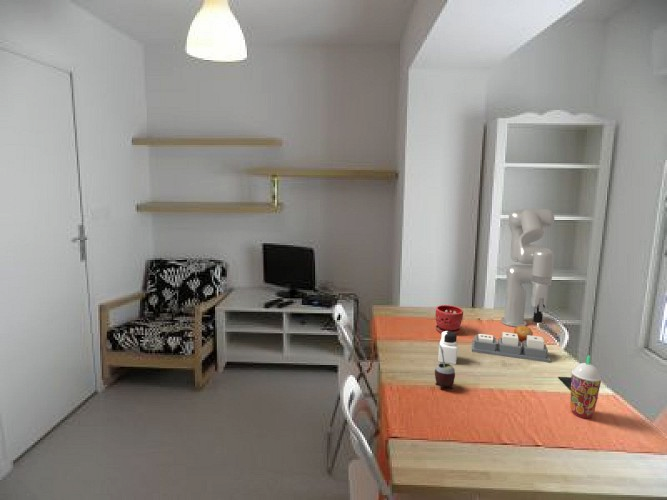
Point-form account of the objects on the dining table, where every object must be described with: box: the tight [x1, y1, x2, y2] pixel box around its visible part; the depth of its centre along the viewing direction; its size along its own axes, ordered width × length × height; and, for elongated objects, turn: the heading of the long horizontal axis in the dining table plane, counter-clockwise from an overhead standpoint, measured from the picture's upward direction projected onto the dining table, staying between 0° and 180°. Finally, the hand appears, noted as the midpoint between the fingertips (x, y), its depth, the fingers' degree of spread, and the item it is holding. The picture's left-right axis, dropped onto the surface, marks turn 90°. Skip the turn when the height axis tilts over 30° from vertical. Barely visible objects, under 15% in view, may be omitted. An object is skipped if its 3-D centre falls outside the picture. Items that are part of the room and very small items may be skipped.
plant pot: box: [435, 304, 464, 335], centre depth 206 cm, size 13×13×12 cm
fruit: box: [513, 325, 534, 343], centre depth 197 cm, size 8×8×8 cm
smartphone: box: [557, 376, 571, 392], centre depth 153 cm, size 7×1×15 cm
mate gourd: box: [434, 341, 456, 391], centre depth 151 cm, size 8×8×15 cm
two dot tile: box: [501, 331, 518, 346], centre depth 182 cm, size 6×6×4 cm
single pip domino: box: [526, 335, 545, 350], centre depth 179 cm, size 6×6×4 cm
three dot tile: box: [478, 333, 494, 343], centre depth 186 cm, size 6×6×4 cm
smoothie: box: [569, 355, 603, 419], centre depth 134 cm, size 8×8×20 cm
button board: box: [471, 334, 551, 363], centre depth 183 cm, size 11×31×4 cm, turn 71°
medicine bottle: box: [437, 331, 459, 365], centre depth 173 cm, size 7×7×12 cm
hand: (537, 321), depth 177 cm, fingers closed
